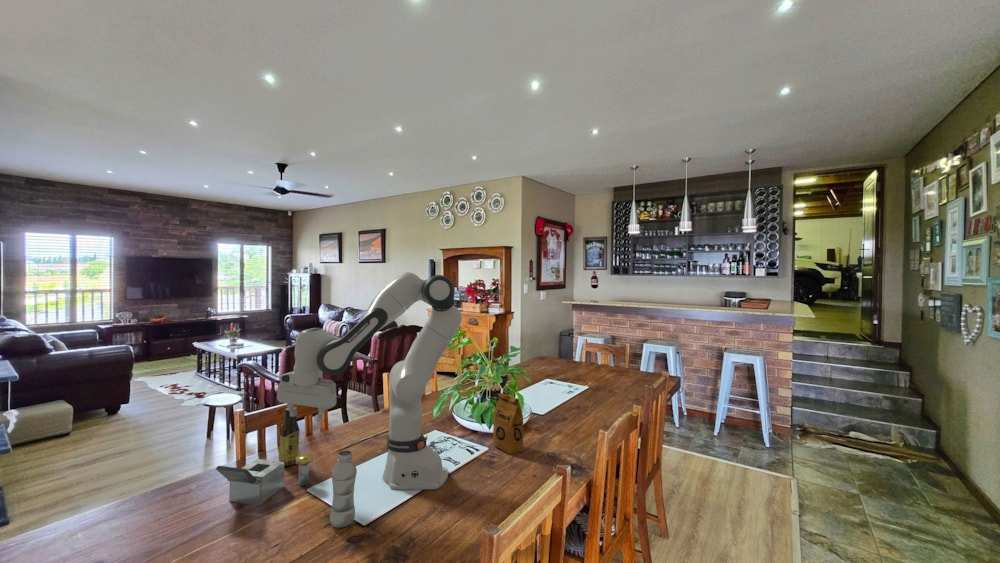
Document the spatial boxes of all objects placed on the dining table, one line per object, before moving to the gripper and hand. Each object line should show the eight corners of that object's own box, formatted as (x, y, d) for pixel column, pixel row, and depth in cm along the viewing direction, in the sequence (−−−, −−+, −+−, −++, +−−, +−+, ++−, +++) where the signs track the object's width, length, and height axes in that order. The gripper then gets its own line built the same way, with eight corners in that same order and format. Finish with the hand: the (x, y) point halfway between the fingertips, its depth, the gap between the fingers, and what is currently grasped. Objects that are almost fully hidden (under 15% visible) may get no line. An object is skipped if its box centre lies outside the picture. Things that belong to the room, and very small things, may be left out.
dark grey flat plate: (257, 485, 121) (259, 481, 121) (244, 472, 115) (246, 468, 116) (228, 481, 122) (231, 477, 123) (214, 469, 117) (217, 465, 118)
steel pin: (315, 480, 137) (316, 453, 136) (306, 488, 131) (306, 460, 131) (301, 478, 137) (302, 452, 137) (291, 486, 132) (292, 459, 132)
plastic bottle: (333, 517, 117) (335, 448, 116) (357, 517, 117) (359, 448, 117) (326, 531, 110) (328, 458, 110) (351, 531, 111) (353, 458, 110)
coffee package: (508, 457, 159) (510, 401, 159) (489, 446, 169) (491, 393, 168) (527, 451, 165) (529, 397, 165) (507, 440, 175) (509, 390, 175)
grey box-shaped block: (283, 486, 132) (284, 462, 132) (259, 505, 121) (259, 478, 121) (256, 483, 134) (256, 458, 133) (229, 501, 123) (229, 475, 123)
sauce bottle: (290, 468, 144) (291, 412, 144) (274, 465, 146) (276, 410, 145) (302, 459, 151) (304, 406, 151) (287, 457, 152) (289, 405, 152)
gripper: (341, 378, 136) (339, 419, 136) (288, 371, 140) (286, 411, 140) (330, 382, 130) (327, 425, 130) (274, 375, 134) (272, 417, 134)
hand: (305, 418), depth 135 cm, fingers open, 8 cm apart
